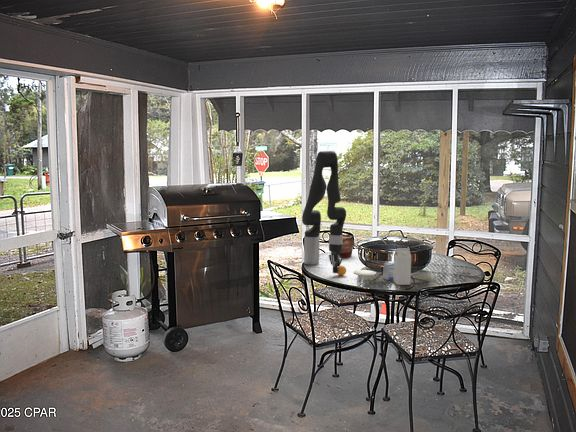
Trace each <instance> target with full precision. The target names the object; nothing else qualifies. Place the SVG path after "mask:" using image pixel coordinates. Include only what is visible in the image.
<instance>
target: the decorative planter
mask: <svg viewBox="0 0 576 432" xmlns="http://www.w3.org/2000/svg"><path fill="white" fill-rule="evenodd" d="M342 236H343V248H342V251H341V252H340V258H351V257H352V255H353V254H352V253H353V249H354V247H355V241H354V239H353V236H352V235H349V234H347V235H346V234H342Z"/></svg>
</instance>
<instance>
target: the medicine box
mask: <svg viewBox="0 0 576 432" xmlns="http://www.w3.org/2000/svg"><path fill="white" fill-rule="evenodd" d="M382 267H383V269H382V279H383V280H386V281H393V274H394V262H385V263H383V266H382Z"/></svg>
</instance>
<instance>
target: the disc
mask: <svg viewBox="0 0 576 432" xmlns="http://www.w3.org/2000/svg"><path fill="white" fill-rule="evenodd" d="M353 274H354V275H358V276H362V277H365V276H366V277H371V276H376V275H377V272H376V271H374V270H367V269H356V270H354V271H353ZM375 274H376V275H375Z"/></svg>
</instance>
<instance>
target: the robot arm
mask: <svg viewBox="0 0 576 432" xmlns="http://www.w3.org/2000/svg"><path fill="white" fill-rule="evenodd" d="M314 164H315V165H314V172H313V176H312V181H311V183H310V186H309V187H310V188H309V191H308V197H307V200H306V203H305V207H304V209H303V212H302V217H301V222H302V224H303V225H304V226H311V228H309V229H307V230H305V232H304V244H303V245H304V247H303V248H304V249H303V250H304V251H303V264H304V265H309V266H315V265H319V263H320V236H321V235H320V233H321V222H322V214H321V212H320V210H318V209H316V210H315V207H316V206H317V205H318V204H319V203H320V202H321V201H322V200H323V199H324V198H325V195H326V194H327V209H326V216H327V218H328V219H329V220H330V221H335V222H333V223H332V224H330V227H329V239H328V240H329V241H328V251H329V252H330V254H329V255H328V257H329V262H330V265H331V266H332V273H333V274H337V267H338V266H341V264H342V263H343V258H341V257H340V252H341V251H342V248H343V236H342V235H343V231H344V229H343V228H344V225H345V221H346V219H347V218H346V217H347V210H346V209H345V207H344V206H336V204H339V203H340V202H341V194H340V187H339V160H338V155H337V152H336V151H335V150H320V151H318V153H317V155H316V158H315V163H314ZM324 168H330V178H329V180H328V182H326V180H325V178H324V175H323V170H324Z"/></svg>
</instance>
